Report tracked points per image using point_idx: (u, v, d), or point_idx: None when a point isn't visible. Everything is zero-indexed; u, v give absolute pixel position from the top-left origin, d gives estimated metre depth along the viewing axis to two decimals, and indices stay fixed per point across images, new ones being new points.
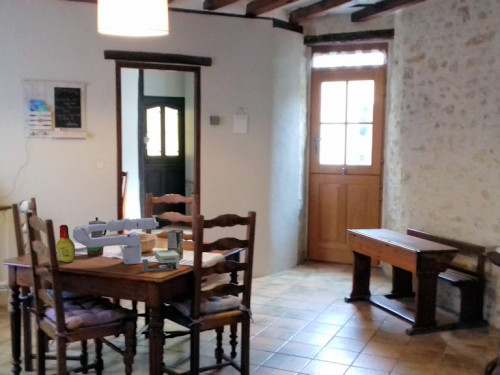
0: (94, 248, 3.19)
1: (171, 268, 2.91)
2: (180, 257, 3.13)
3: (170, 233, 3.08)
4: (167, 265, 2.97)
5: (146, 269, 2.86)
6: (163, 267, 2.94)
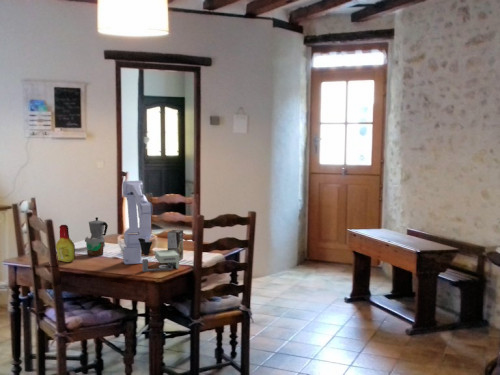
0: (94, 248, 3.19)
1: (171, 268, 2.91)
2: (180, 257, 3.13)
3: (170, 233, 3.08)
4: (167, 265, 2.97)
5: (146, 269, 2.86)
6: (163, 267, 2.94)
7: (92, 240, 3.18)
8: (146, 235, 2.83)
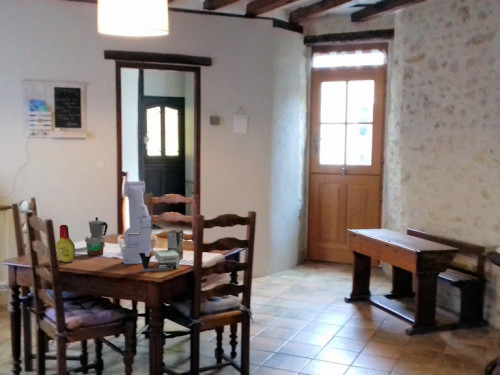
0: (94, 248, 3.19)
1: (171, 268, 2.91)
2: (180, 257, 3.13)
3: (170, 233, 3.08)
4: (167, 265, 2.97)
5: (146, 269, 2.86)
6: (163, 267, 2.94)
7: (92, 240, 3.18)
8: (146, 249, 2.83)
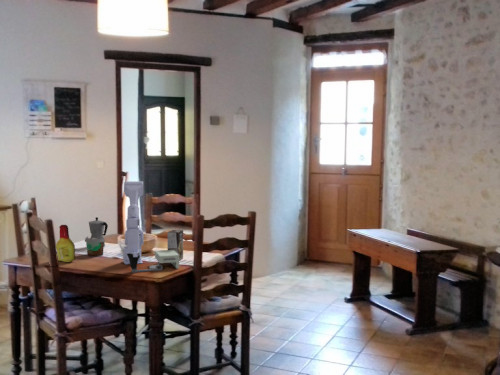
0: (94, 248, 3.19)
1: (160, 269, 2.89)
2: (180, 257, 3.13)
3: (170, 233, 3.08)
4: None
5: (135, 270, 2.84)
6: (153, 267, 2.92)
7: (92, 240, 3.18)
8: (134, 250, 2.81)
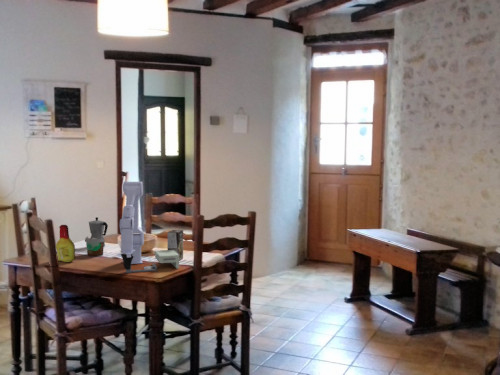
0: (94, 248, 3.19)
1: (155, 269, 2.88)
2: (180, 257, 3.13)
3: (170, 233, 3.08)
4: (152, 266, 2.94)
5: (129, 270, 2.83)
6: (148, 268, 2.91)
7: (92, 240, 3.18)
8: (128, 250, 2.80)
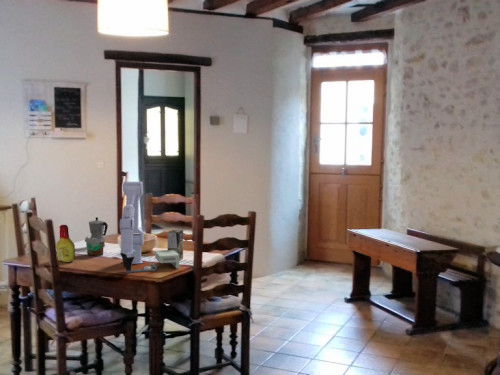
0: (94, 248, 3.19)
1: (155, 269, 2.88)
2: (180, 257, 3.13)
3: (170, 233, 3.08)
4: (152, 266, 2.94)
5: None
6: (147, 268, 2.90)
7: (92, 240, 3.18)
8: (128, 250, 2.80)
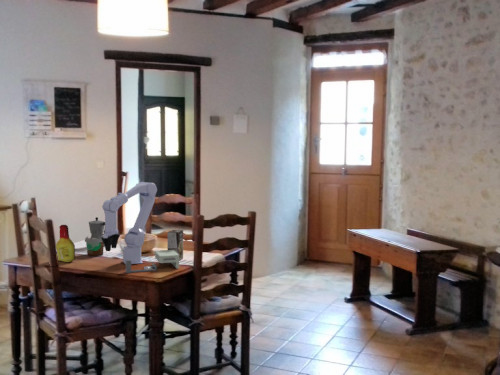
0: (94, 248, 3.19)
1: (155, 269, 2.88)
2: (180, 257, 3.13)
3: (170, 233, 3.08)
4: (152, 266, 2.94)
5: (129, 270, 2.83)
6: (147, 268, 2.90)
7: (92, 240, 3.18)
8: (109, 231, 2.89)
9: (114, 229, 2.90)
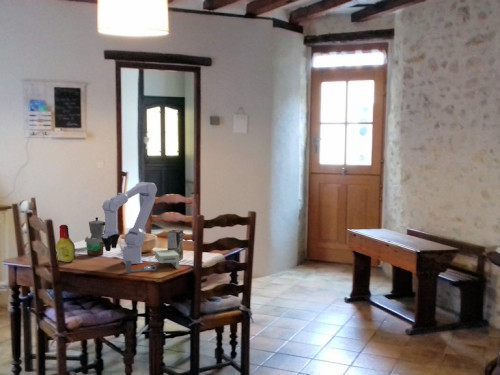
0: (94, 248, 3.19)
1: (155, 269, 2.88)
2: (180, 257, 3.13)
3: (170, 233, 3.08)
4: (152, 266, 2.94)
5: (129, 270, 2.83)
6: (147, 268, 2.90)
7: (92, 240, 3.18)
8: (109, 231, 2.89)
9: (114, 229, 2.90)
